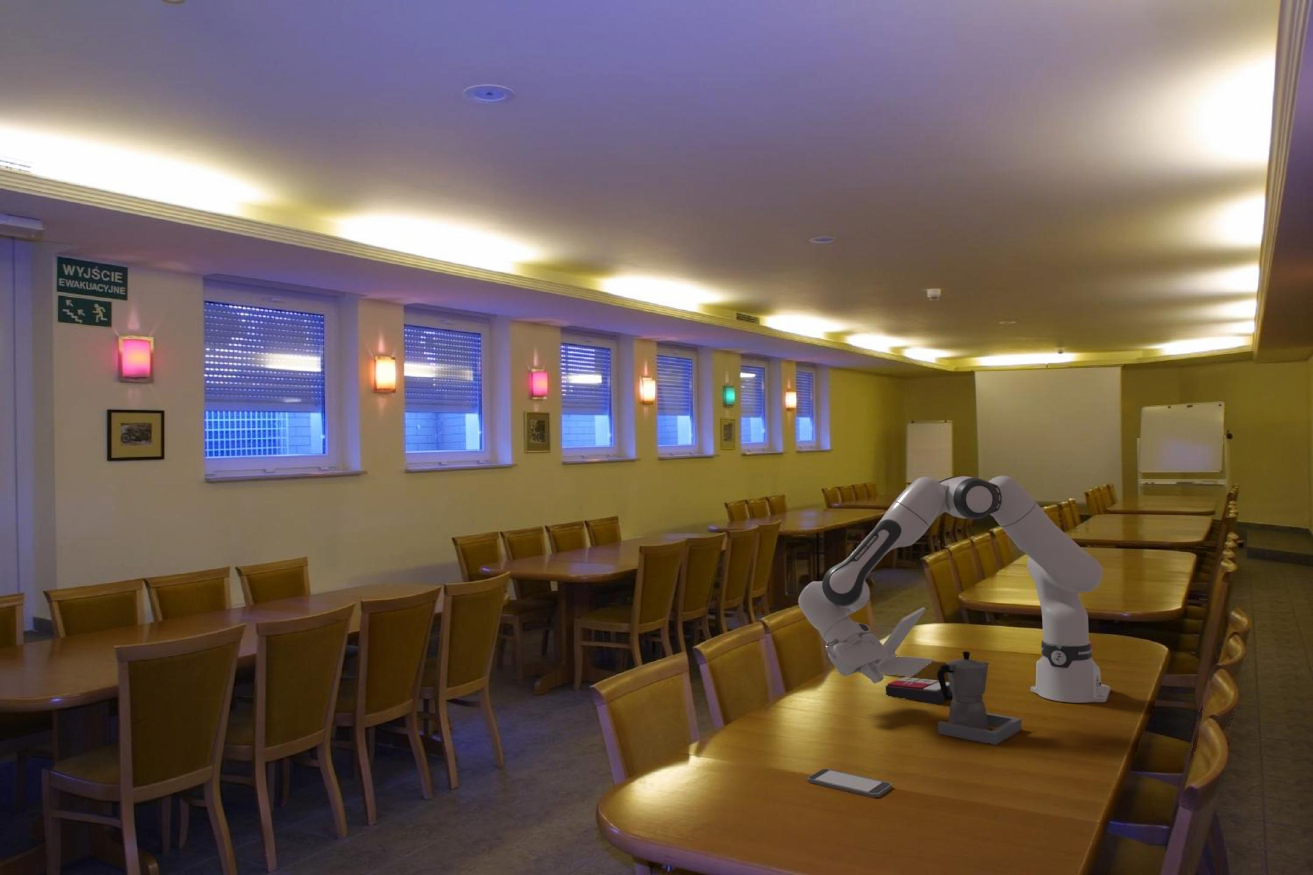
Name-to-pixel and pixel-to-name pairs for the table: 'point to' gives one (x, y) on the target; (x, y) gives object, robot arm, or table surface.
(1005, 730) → the dock
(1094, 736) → the table surface
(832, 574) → the robot arm
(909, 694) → the calculator
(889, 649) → the tablet stand
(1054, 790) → the table surface
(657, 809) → the table surface
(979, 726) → the coffeepot
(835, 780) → the smartphone
